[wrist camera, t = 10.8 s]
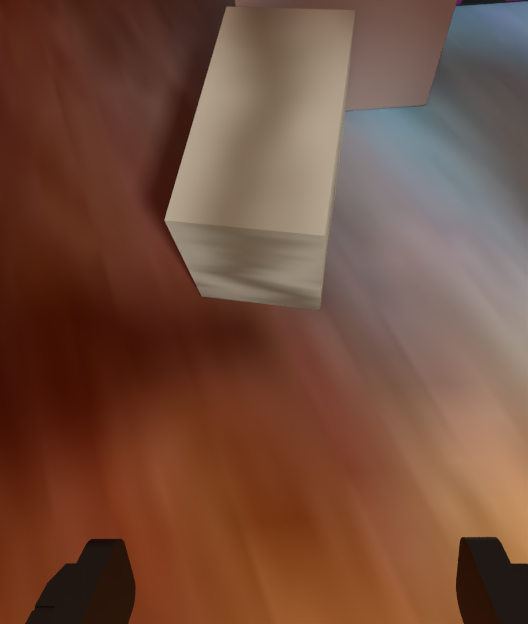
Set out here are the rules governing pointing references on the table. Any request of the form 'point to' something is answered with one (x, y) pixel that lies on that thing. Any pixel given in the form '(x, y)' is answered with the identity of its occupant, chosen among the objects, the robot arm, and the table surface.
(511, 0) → the candy bar box
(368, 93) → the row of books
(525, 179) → the table surface
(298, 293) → the beige rectangular block
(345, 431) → the table surface
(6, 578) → the table surface
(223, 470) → the table surface
